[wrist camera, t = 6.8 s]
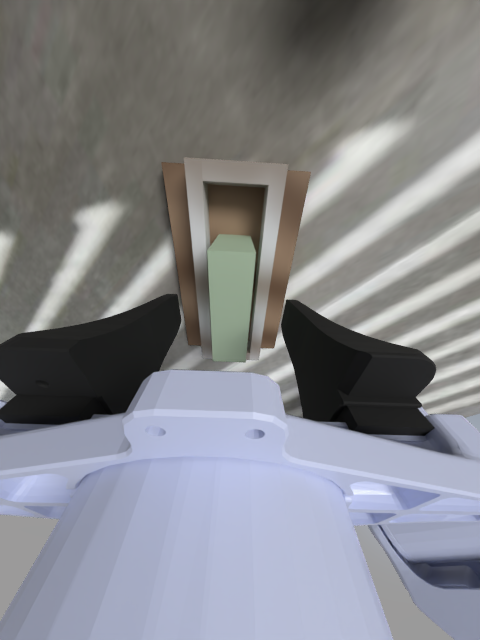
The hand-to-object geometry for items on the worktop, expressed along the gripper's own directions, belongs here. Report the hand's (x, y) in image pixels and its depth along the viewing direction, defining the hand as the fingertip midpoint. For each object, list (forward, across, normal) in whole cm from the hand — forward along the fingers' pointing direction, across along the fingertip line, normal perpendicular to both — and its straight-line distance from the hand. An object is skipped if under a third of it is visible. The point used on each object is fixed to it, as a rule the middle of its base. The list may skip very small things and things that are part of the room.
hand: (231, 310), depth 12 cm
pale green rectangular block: (+5, 0, 0) cm, 5 cm away
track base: (+6, 0, 0) cm, 6 cm away
